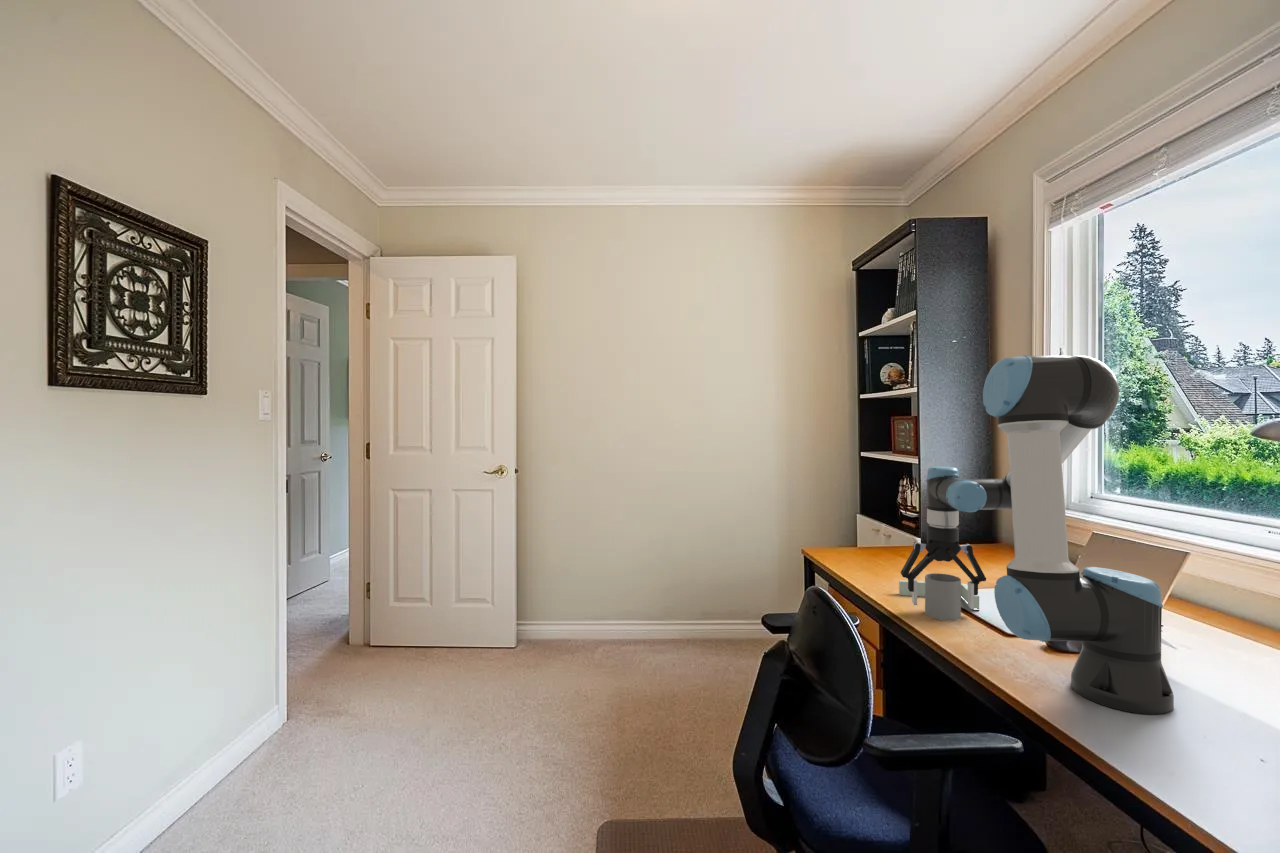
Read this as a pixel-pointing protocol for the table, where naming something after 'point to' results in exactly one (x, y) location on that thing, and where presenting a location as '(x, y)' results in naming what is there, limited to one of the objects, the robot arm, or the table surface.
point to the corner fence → (921, 591)
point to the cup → (943, 596)
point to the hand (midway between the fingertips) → (942, 605)
